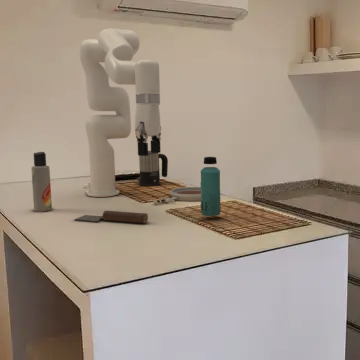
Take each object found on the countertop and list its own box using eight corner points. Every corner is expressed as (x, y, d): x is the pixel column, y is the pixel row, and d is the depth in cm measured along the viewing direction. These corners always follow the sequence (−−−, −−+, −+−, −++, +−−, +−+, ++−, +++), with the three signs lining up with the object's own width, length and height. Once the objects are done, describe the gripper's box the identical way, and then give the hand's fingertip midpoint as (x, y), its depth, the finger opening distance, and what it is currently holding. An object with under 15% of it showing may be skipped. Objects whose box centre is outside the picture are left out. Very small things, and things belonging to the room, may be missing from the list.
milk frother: (150, 186, 215) (149, 153, 212) (123, 183, 223) (122, 150, 221) (171, 182, 227) (170, 150, 224) (145, 179, 235) (144, 148, 233)
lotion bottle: (55, 209, 171) (52, 151, 167) (42, 212, 166) (39, 153, 162) (43, 207, 173) (39, 150, 170) (30, 210, 168) (26, 152, 165)
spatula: (74, 220, 155) (74, 210, 154) (85, 216, 161) (85, 206, 160) (141, 226, 149) (141, 215, 148) (150, 221, 155) (149, 211, 154)
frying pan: (138, 195, 183) (190, 184, 204) (138, 203, 183) (191, 191, 205) (170, 201, 172) (222, 189, 194) (170, 210, 173) (222, 196, 195)
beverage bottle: (223, 216, 161) (223, 156, 158) (216, 221, 155) (216, 158, 151) (205, 215, 163) (205, 155, 160) (197, 219, 157) (196, 157, 154)
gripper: (148, 100, 165) (149, 151, 168) (124, 100, 148) (126, 156, 151) (169, 100, 163) (170, 151, 166) (147, 100, 147) (149, 157, 149)
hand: (149, 154), depth 158 cm, fingers open, 9 cm apart
